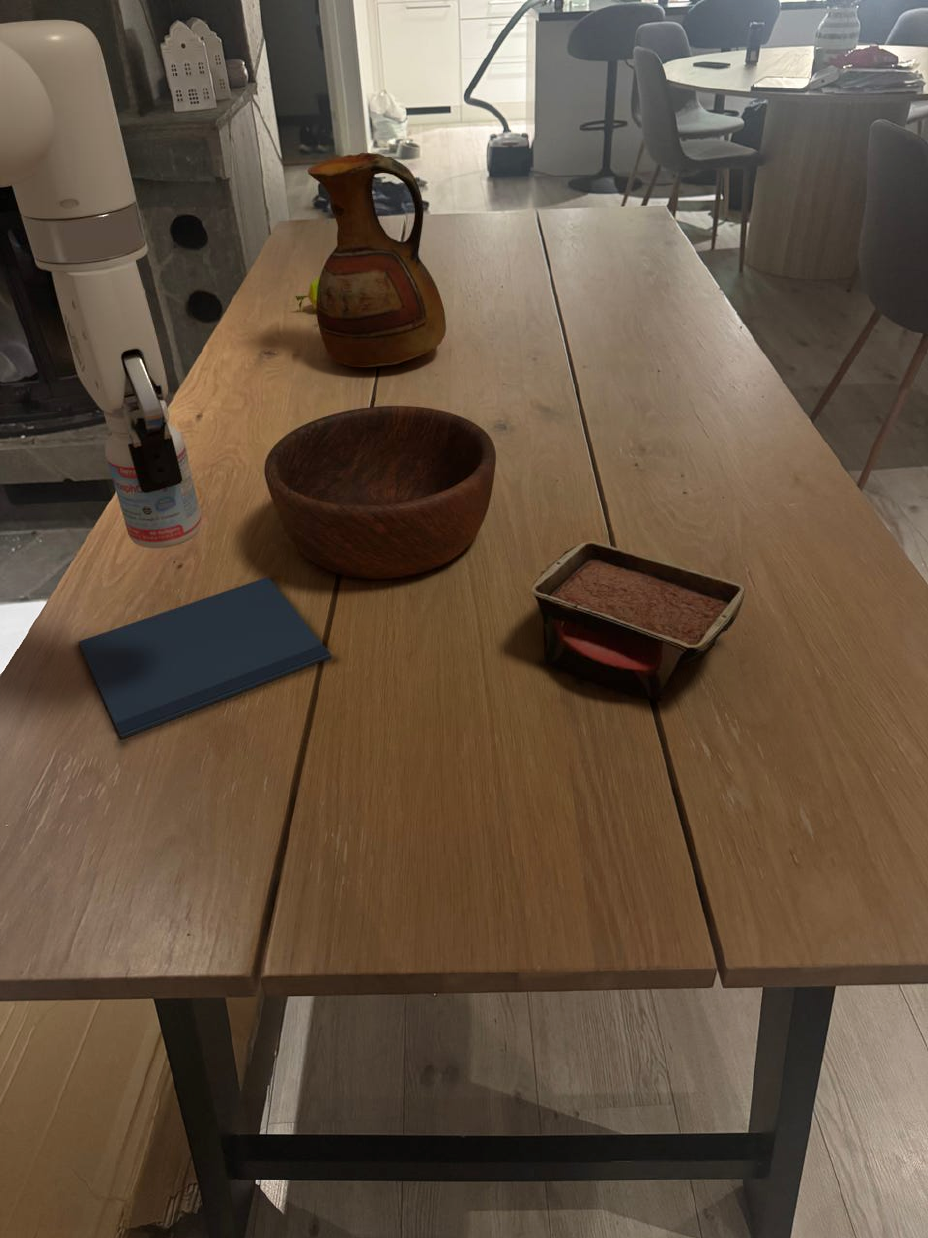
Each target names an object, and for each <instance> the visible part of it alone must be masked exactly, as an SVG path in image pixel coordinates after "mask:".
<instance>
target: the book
mask: <svg viewBox="0 0 928 1238" xmlns="http://www.w3.org/2000/svg"><path fill="white" fill-rule="evenodd" d="M78 645H79V647H80V650H81V652H82V654H83V657H84V658H85V661H86V663H87V665H88V667H89V670H90V672H91V674H92V676H93V679H94V680H95V683H96V685H97V688H98V691H99V692H100V694H101V697H102V699H103V701H104V703H105V705H106V708H107V710H108V712H109V714H110V717H111V719H112V721H113V724H114V726H115V727H116V728H115V729H116V730H117V733H118V734H119V737H120V739H121V740H124V739H126V738H129V737H131V736H134V735H137V734H140V733H142V732H144V731H146V730H149V729H152V728H155V727H157V726H160V725H162V724H164V723H167V722H170V721H172V720H175V719H179V718H180V717H183V716H186V715H188V714H190V713H193V712H196V711H198V710H201V709H203V708H206V707H209V706H211V705H213V704H217V703H219V702H222V701H224V700H226V699H229V698H232V697H234V696H237V695H239V694H242V693H244V692H247V691H250V690H253V689H254V688H257V687H260V686H263V685H265V684H267V683H268V684H269V683H270V682H272V681H274V680H277V679H280V678H282V677H286V676H288V675H290V674H293V673H295V672H299V671H301V670H303V669H306V668H309V667H311V666H315V665H316V664H318V663H322V662H324V661H327V660H329V659H332V654H331V652H330V651H329V650H328V649H327V647H326V646H325V645H324V644H323V643H322V642H321V640H319V638H318V637H317V635H316V634H315V633H314V632H313V630H312V629H311V628H310V627H309V626H308V624H307V623H306V622H305V620H303V618H302V617H301V615H299V613H298V612H297V610H295V608H294V606H292V604H291V603H290V602H289V601H288V600H287V598H286V597H285V596H284V595H283V593H282V592H281V590H280V589H279V588H278V587H277V585H275V583H274V581H272V579H271V578H270V577H269V576H266V577H263V578H260V579H258V580H255V581H252V582H249V583H246V584H243V585H240V586H237V587H234V588H232V589H228V590H225V591H222V592H220V593H217V594H213V595H211V596H208V597H205V598H202V599H199V600H195V601H193V602H190V603H186V604H184V605H181V606H179V607H175V608H173V609H170V610H167V611H163V612H161V613H158V614H155V615H152V616H149V617H146V618H143V619H140V620H138V621H133V622H132V623H129V624H126V625H123V626H119V627H117V628H115V629H114V628H113V629H111V630H108V631H105V632H102V633H99V634H96V635H93V636H91V637H87V638H84V639H82V640H79V641H78Z"/></svg>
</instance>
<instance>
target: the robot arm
mask: <svg viewBox="0 0 928 1238" xmlns="http://www.w3.org/2000/svg"><path fill="white" fill-rule="evenodd" d="M7 187H12V190H13V193H14V197H15V200H16V203H17V206H18V210H19V213H20V217H21V220H22V224H23V226H24V229H25V233H26V236H27V239H28V243H29V246H30V249H31V253H32V256H33V259H34V263H35V266H36V267H37V268H38V269H40V270H43V271H47V272H51V276H52V281H53V286H54V289H55V295H56V298H57V301H58V306H59V309H60V313H61V317H62V320H63V325H64V328H65V331H66V335H67V340H68V343H69V347H70V351H71V354H72V360H73V363H74V368H75V370H76V374H77V377H78V378H79V380H80V382H81V383H82V385H83V387H84V388H85V390H86V391H87V393H88V394H89V396H90V397H91V398H92V400H93V402H94V403H95V404H96V406H97V407H98V408H99V409H100V410H101V411H103V412H104V411H105V412H107V413H109V414H111V413H114V409H119V408H120V410H121V412H122V415H123V418H124V421H125V424H126V427H127V430H128V433H129V436H130V439H131V442H132V443H131V444H128V447H129V451H130V454H131V458H132V461H133V465H134V468H135V472H136V476H137V479H138V483H139V486H140V489H141V490H142V491H143V492H144V493H149V492H152V491H156V490H160V489H163V488H167V487H170V486H174V485H177V484H180V483H181V482H182V475H181V471H180V467H179V463H178V459H177V455H176V451H175V447H174V443H173V439H172V435H171V434H170V430H169V427H168V424H169V423H168V424H167V421H166V418H165V415H164V412H163V409H162V406H161V403H160V400H161V401H163V400H164V401H165V400H166V398H167V396H169V395H168V394H169V386H168V379H167V374H166V370H165V366H164V362H163V356H162V352H161V349H160V343H159V340H158V336H157V333H156V329H155V325H154V320H153V317H152V314H151V310H150V307H149V303H148V300H147V295H146V290H145V288H144V285H143V281H142V278H141V275H140V271H139V267H138V263H137V260H140V259H142V258H143V257H145V256H146V255H147V254H148V252H149V248H148V243H147V240H146V236H145V231H144V226H143V222H142V219H141V213H140V209H139V205H138V201H137V196H136V191H135V187H134V183H133V179H132V175H131V170H130V165H129V162H128V157H127V153H126V149H125V145H124V141H123V135H122V131H121V128H120V123H119V118H118V115H117V110H116V105H115V101H114V97H113V93H112V88H111V84H110V80H109V76H108V71H107V67H106V63H105V59H104V54H103V52H102V49H101V44H100V43H99V40H98V38H97V37H96V35H95V34H94V32H92V31H91V29H90V28H89V27H87V26H86V25H85V24H83V23H81V22H78V21H74V20H66V19H44V20H43V19H42V20H25V21H14V22H5V23H0V188H7ZM131 396H135V398H136V400H137V401H136V402H132V403H127V404H126V401H125V398H126V397H131ZM135 410H140V415H141V418H138V419H137V423H136V424H135V421H134V418H133V415H132V412H131V411H135ZM110 433H111V432H110ZM111 434H113V433H111ZM111 434H110V435H111Z"/></svg>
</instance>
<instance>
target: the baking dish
mask: <svg viewBox="0 0 928 1238" xmlns="http://www.w3.org/2000/svg"><path fill="white" fill-rule="evenodd" d="M530 590H531V592H532V594H533V596H534V598H535V599H536V601H537V605H538V608H539V609H538V610H539V612H540V615H541V619H542V631H543V632H542V633H543V648H544V658H543V662H544V663H546V664H547V665H549V666H550V667H553V668H555V669H558V670H560V671H563V672H565V673H568V674H571V675H572V676H576V677H579V678H581V679H585V680H588V681H590V682H594V683H596V684H599V685H603V686H605V687H609V688H610V689H614V690H616V691H619V692H623V693H625V694H629V695H632V696H637V697H640V698H642V699H646V700H649V701H652V702H653V701H654V702H659V703H661V701H662V700H663V696H664V691H665V687H666V683H668V680H669V678H670V677H671V675H672V673H673V672H674V671H675V670H674V669H675V668H677V667H680V666H681V665H683V664H685V663H687V662H690V661H693V660H694V659H696V658H697V657H700V656H702V655H703V654H704V652H706V651H707V650H708V649H710V648H711V647H712V646H713V645H714V644H715V643H716V642H717V639H718V638H719V637H720V636H721V635H722V633H725V632H727V631H728V630H729V628H730V627H731V626H732V625H733V624H734V622H735V620H736V618H738V615H739V612H740V610H741V607H742V604H743V601H744V599H745V595H746V588H745V586H744V584H743V583H740V582H736V581H731V580H728V579H724V578H721V577H717V576H714V575H711V574H708V573H704V572H701V571H696V570H693V569H689V568H686V567H682V566H680V565H675V564H672V563H669V562H665V561H662V560H659V559H656V558H653V557H648V556H646V555H645V556H644V555H641V554H638V553H635V552H631V551H629V550H625V549H621V548H618V547H615V546H611V545H608V544H604V543H601V542H597V541H586V542H582V543H580V544H577V545H575V546H573V547H571V548H570V549H567V550H566V551H565V552H564V553H563V554H562V555H561V556H560V557H558V559H557V560H555V561H554V562H552V563H551V564H549V565H548V567H547V568H546V569H544V570H543V571H541V572H540V575H539V577H538V578H537V579H536V580H535V581H534V582H533V584H532V585H531V588H530Z"/></svg>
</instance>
